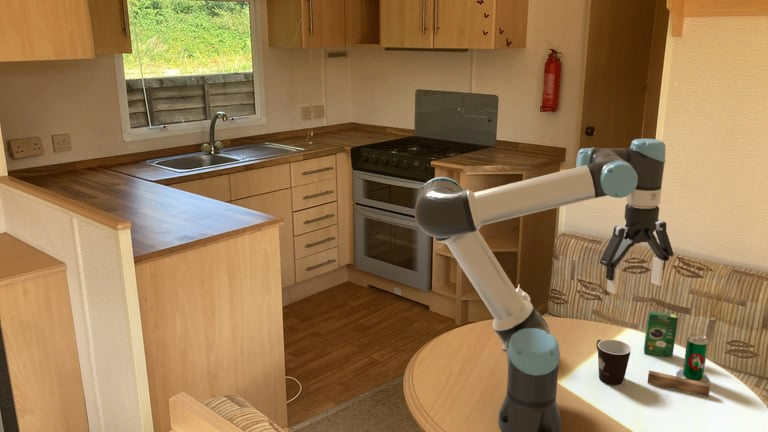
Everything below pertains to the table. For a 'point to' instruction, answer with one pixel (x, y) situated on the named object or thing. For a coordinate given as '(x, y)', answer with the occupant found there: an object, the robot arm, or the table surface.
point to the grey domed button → (680, 374)
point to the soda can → (695, 357)
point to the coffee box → (660, 333)
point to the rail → (678, 383)
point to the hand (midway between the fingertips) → (633, 287)
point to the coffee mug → (612, 361)
